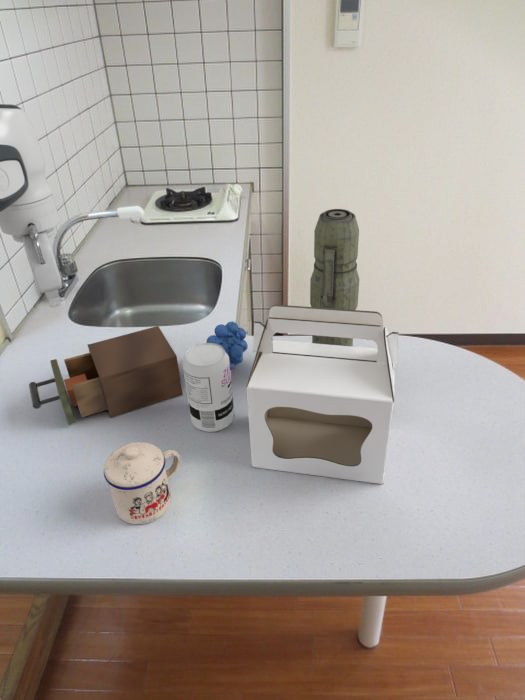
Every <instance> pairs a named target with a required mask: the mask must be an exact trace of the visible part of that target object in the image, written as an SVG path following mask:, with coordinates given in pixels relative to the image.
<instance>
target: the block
mask: <svg viewBox="0 0 525 700" xmlns="http://www.w3.org/2000/svg"><path fill="white" fill-rule="evenodd" d="M63 381H64V384H65V387H66V390H67V394H68V398H69V401H70V405H71V408H73V407H78V405H77V401H76V398H75V395H74V392H73V389H72V385H74V384H77V383H81V382H84V381H87V378H86V375H85V374H82V375H78V376H75V377H71V378H70V377H68V378H65V379H64V378H63Z"/></svg>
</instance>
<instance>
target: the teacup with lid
mask: <svg viewBox="0 0 525 700" xmlns="http://www.w3.org/2000/svg"><path fill="white" fill-rule="evenodd" d="M171 457H173V460H172V463H171V466H169V468H168V469H166V460H167V459H169V458H171ZM106 459H107V460H106V461H105V463H104V466H103V476H104V479H105V481H106V482H107V484H108V488H109V491H110V494H111V498H112V501H113V505H114V507H115V510H116V514H117V515H118V517H119V518H120V519H121V520H122V521H124V522H125V523H128V524H131V525H144V524H149V523H151V522H153V521H156V520H157V519H159V518H161V517H162V516H163V515H164V514H165V513H166V512H167V510H169V507H170V505H171V501H172V493H171V489H170V484H169V479H170V478H171V477H173V476H174V474H175V473H177V471H178V469H179V467H180V463H181V456H180V454H179V452H177V450H175V449H167V450H165V451H162V450H161V449H160V448H159V447H157V445H155V444H153V443H149V442H143V441H137V442H130V443H126V444H125V445H122V446H121V447H119V448H117V449H115V450H114V451H113V452H112V453H111V454H110V455H109V456H108V457H107V458H106Z"/></svg>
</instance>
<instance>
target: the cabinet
mask: <svg viewBox="0 0 525 700" xmlns="http://www.w3.org/2000/svg"><path fill="white" fill-rule="evenodd" d="M87 349H88V353H90V354H91V356H92V359H93V362H94V364H95V367H96V370H97V372H98V375H99V378H100V381H101V385H102V388H103V392H104V396H105V399H106V403H107V407H108V409H107V411H108V412H107V413H108V415H109V418H115V417H118V416H121V415H124V414H128V413H130V412H134V411H137V410H140V409H143V408H146V407H149V406H152V405H155V404H159V403H162V402H164V401H168V400H172V399H174V398H177V397H180V396H183V395H184V393H183V386H182V379H181V375H180V367H179V360H178V355H177V354H176V352H175V351H174V349H173V347H172V346H171V344H170V342H169V340H168V339H167V338H166V336H165V335H164V333H163V331H162V330H161V328H160V326H159V325H155V326H152V327H147V328H144V329H142V330H137V331H134V332H130V333H126V334H122V335H117V336H115V337H112V338H108V339H103V340H100V341H97V342H93V343H89V344H87Z"/></svg>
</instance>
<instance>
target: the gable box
mask: <svg viewBox="0 0 525 700" xmlns="http://www.w3.org/2000/svg"><path fill="white" fill-rule="evenodd" d="M383 320H384V319H383V316H382V314H381V313H380V312H378V311H375V310H361V309H360V310H359V309H356V310H346V309H332V308H317V307H311V306H303V305H302V306H300V305H288V304H287V305H286V304H274V305H272V306H271V307H270V309H269V311H268V317H267V319H266V321H265V324H263V322H261V321H257V320H255V321H254V322H253V338H252V339H253V341H252V343H253V344H252V352H256V353H255V356H254V359H253V362H252V366H251V369H250V373H249V376H248V379H247V381H246V382H247V383H246V386H245V390H246V405H247V415H248V416H247V417H248V428H249V429H248V430H249V443H250V457H251V466H252V467H253V468H256V469H264V470H271V471H280V472H287V473H294V474H295V473H296V474H301V475H311V476H316V477H317V476H318V477H325V478H333V479H341V480H349V481H356V482H362V483H372V484H379V485H383V484H384V483H385V478H386V477H385V475H386V470H387V469H386V468H387V461H388V453H389V447H390V446H389V445H390V438H391V430H392V422H393V417H394V416H393V414H394V407H395V371H396V368H395V367H396V365H398V364H399V332H398V331H391V332H389V330H388V328H387V326H385V327H384V321H383ZM276 333H278V334H292V335H306V336H312V335H317V336H329V337H342V338H353V339H355V340H357V339H358V340H366V341H373V342H375V344H376V346H377V348H375V347H363V346H353V345H352V346H340V345H328V344H315V343H312V342H302V341H289V340H279V339H273V337H274V335H276Z"/></svg>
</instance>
